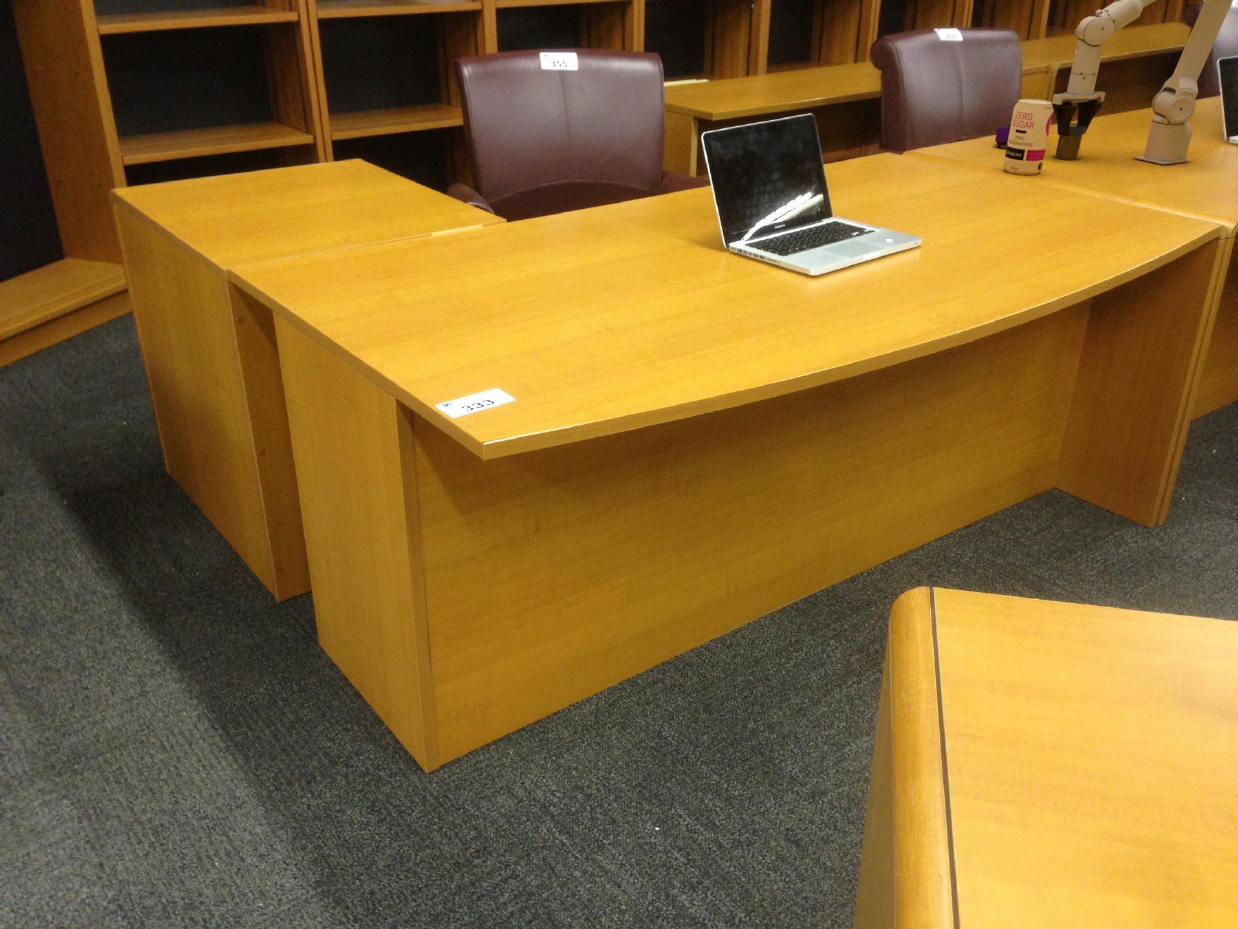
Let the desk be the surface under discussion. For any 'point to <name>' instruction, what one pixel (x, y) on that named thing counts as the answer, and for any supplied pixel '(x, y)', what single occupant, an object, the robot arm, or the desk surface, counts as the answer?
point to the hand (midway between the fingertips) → (1071, 134)
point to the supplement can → (1028, 136)
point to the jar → (1068, 147)
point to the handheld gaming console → (1002, 136)
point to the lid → (1076, 129)
